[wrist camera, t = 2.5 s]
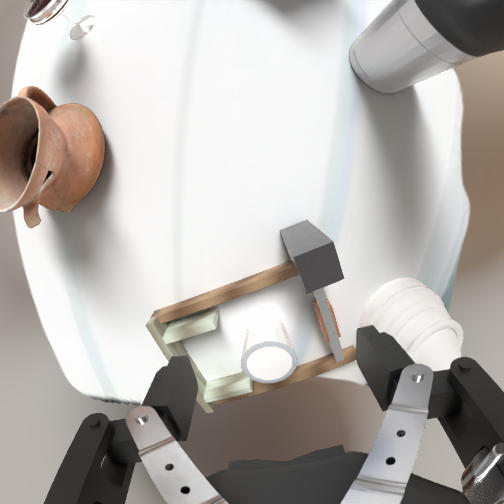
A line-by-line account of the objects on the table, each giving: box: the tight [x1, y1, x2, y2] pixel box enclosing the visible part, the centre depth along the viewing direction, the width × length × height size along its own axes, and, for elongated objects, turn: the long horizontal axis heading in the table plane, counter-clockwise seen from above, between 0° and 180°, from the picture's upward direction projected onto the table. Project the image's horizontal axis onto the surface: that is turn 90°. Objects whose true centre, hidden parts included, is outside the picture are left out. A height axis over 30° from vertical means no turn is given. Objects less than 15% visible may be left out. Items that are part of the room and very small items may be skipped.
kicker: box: [280, 220, 345, 363], centre depth 30 cm, size 4×20×11 cm, turn 22°
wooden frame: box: [146, 261, 357, 413], centre depth 36 cm, size 25×18×4 cm
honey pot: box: [360, 277, 463, 371], centre depth 29 cm, size 13×13×18 cm
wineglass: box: [24, 0, 95, 40], centre depth 18 cm, size 7×7×12 cm
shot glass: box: [241, 317, 298, 383], centre depth 34 cm, size 7×7×7 cm
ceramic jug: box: [0, 86, 105, 228], centre depth 23 cm, size 18×14×14 cm
